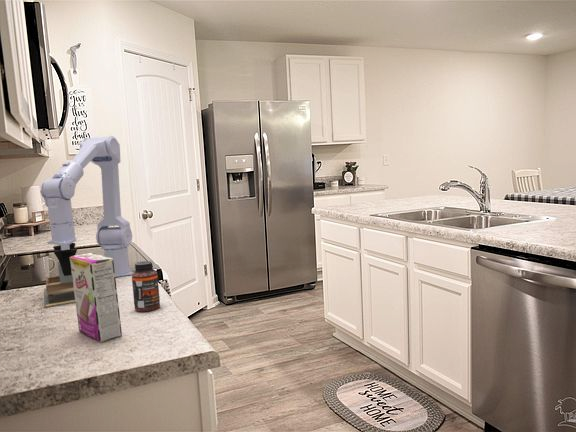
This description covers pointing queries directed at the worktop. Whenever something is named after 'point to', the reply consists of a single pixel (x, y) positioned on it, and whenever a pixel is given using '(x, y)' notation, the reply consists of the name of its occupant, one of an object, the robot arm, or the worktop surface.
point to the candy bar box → (96, 296)
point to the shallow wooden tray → (57, 287)
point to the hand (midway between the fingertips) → (67, 272)
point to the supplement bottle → (145, 287)
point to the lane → (59, 299)
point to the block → (64, 278)
